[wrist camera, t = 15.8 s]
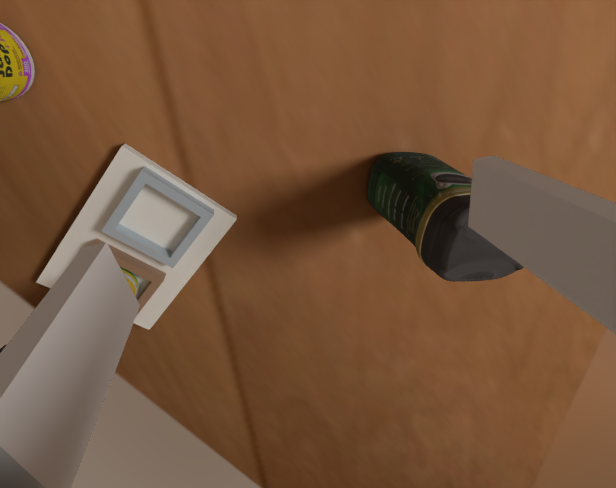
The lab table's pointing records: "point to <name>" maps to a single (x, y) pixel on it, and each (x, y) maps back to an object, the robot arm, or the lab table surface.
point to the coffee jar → (435, 216)
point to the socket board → (145, 230)
